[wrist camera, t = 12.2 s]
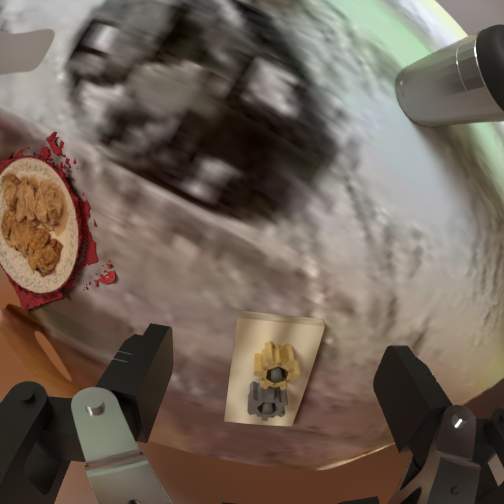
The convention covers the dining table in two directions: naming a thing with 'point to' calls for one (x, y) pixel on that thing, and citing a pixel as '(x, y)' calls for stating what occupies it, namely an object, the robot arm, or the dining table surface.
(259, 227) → the dining table surface
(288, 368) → the brass gear
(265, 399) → the gear board
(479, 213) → the dining table surface
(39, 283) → the plate with food
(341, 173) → the dining table surface
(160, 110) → the dining table surface
